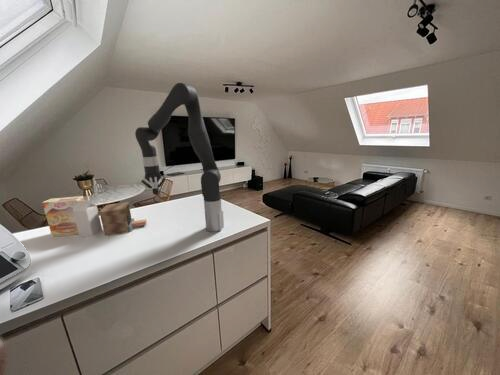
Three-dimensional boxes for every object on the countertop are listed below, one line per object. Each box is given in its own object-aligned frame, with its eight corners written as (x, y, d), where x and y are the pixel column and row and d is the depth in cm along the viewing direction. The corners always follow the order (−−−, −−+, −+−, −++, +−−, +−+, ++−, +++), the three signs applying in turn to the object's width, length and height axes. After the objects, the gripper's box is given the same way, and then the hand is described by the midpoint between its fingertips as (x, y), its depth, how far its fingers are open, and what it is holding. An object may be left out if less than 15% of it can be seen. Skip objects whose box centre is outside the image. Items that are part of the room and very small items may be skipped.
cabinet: (132, 223, 120) (128, 202, 116) (128, 232, 109) (124, 209, 105) (111, 226, 116) (106, 204, 113) (104, 236, 105) (99, 212, 102)
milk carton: (92, 237, 104) (84, 203, 99) (79, 237, 105) (70, 203, 100) (102, 230, 111) (95, 198, 106) (90, 230, 111) (82, 198, 106)
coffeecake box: (51, 237, 105) (40, 202, 100) (60, 231, 112) (50, 198, 106) (85, 233, 109) (76, 199, 104) (91, 227, 115) (83, 195, 110)
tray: (147, 220, 123) (146, 216, 122) (145, 229, 112) (144, 224, 111) (113, 226, 116) (112, 221, 116) (107, 235, 106) (106, 230, 105)
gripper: (136, 166, 105) (142, 198, 109) (163, 164, 109) (168, 194, 114) (138, 164, 112) (144, 194, 116) (164, 162, 116) (168, 191, 121)
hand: (156, 194), depth 115 cm, fingers closed
